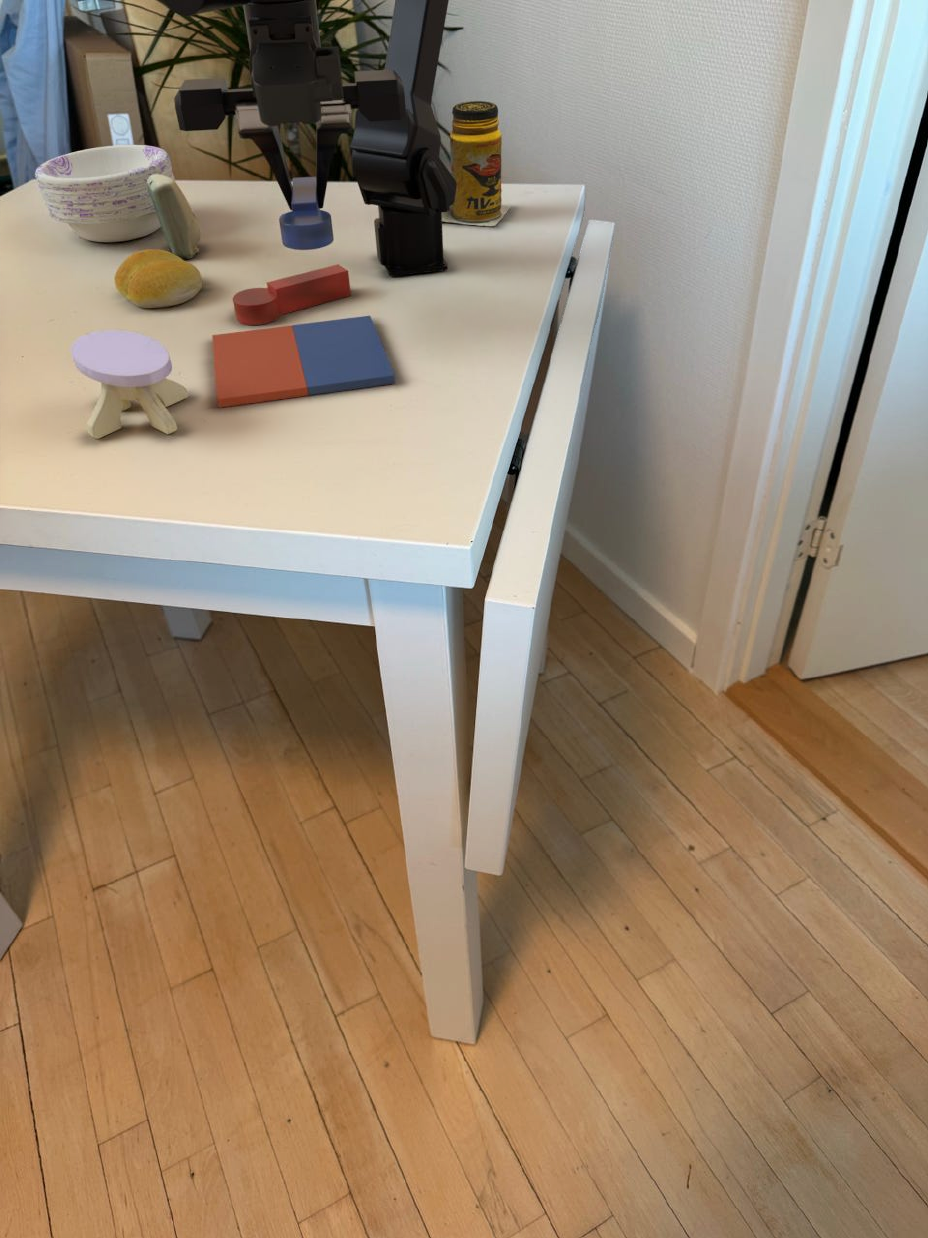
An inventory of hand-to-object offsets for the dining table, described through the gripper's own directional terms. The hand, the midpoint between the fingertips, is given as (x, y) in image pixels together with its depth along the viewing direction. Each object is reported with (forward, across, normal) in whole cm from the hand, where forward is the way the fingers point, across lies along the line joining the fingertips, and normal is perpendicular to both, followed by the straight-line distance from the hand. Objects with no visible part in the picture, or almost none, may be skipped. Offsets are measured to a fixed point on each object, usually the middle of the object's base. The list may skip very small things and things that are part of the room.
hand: (306, 208), depth 79 cm
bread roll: (+10, -17, +10) cm, 22 cm away
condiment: (+10, +19, +27) cm, 35 cm away
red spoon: (+10, -3, +3) cm, 11 cm away
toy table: (+11, -15, -17) cm, 25 cm away
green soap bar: (+10, -16, +22) cm, 29 cm away
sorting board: (+10, -2, -10) cm, 14 cm away
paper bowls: (+10, -24, +31) cm, 40 cm away
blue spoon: (+1, 0, -2) cm, 2 cm away
